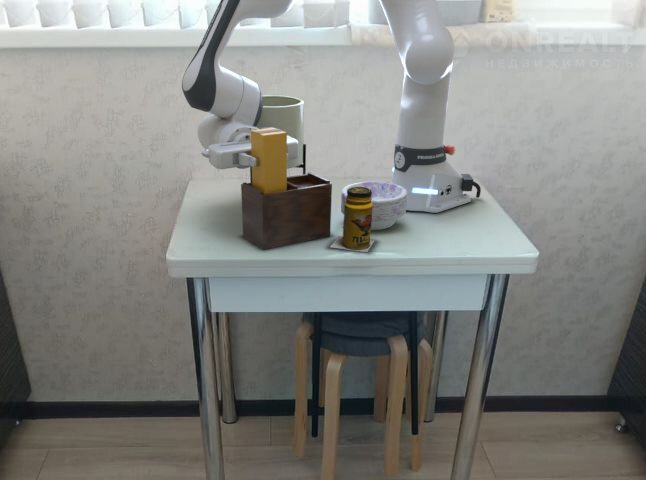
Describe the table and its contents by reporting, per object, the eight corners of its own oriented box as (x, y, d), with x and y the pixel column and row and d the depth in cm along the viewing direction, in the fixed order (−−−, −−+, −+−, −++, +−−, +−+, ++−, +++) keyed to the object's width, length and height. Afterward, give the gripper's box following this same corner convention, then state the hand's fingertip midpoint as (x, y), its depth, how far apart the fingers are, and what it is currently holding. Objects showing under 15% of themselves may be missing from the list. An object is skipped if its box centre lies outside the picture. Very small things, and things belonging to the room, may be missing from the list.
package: (274, 186, 153) (274, 127, 146) (287, 192, 150) (287, 132, 142) (251, 189, 151) (250, 129, 144) (264, 196, 147) (263, 135, 140)
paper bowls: (333, 231, 161) (335, 196, 156) (347, 211, 173) (349, 178, 168) (399, 238, 158) (402, 202, 153) (408, 217, 170) (412, 183, 165)
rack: (307, 223, 165) (308, 171, 158) (330, 236, 159) (332, 181, 152) (242, 236, 158) (240, 181, 151) (263, 249, 151) (262, 193, 144)
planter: (300, 209, 174) (301, 108, 160) (238, 205, 176) (234, 105, 162) (309, 191, 186) (311, 96, 172) (251, 188, 188) (248, 93, 174)
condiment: (367, 252, 150) (371, 195, 143) (329, 248, 152) (331, 191, 145) (374, 241, 156) (378, 186, 149) (338, 237, 158) (340, 182, 151)
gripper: (197, 136, 149) (226, 150, 140) (279, 126, 158) (312, 139, 148) (199, 167, 153) (227, 183, 143) (279, 155, 161) (311, 170, 152)
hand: (271, 160), depth 146 cm, fingers closed on package, 5 cm apart
